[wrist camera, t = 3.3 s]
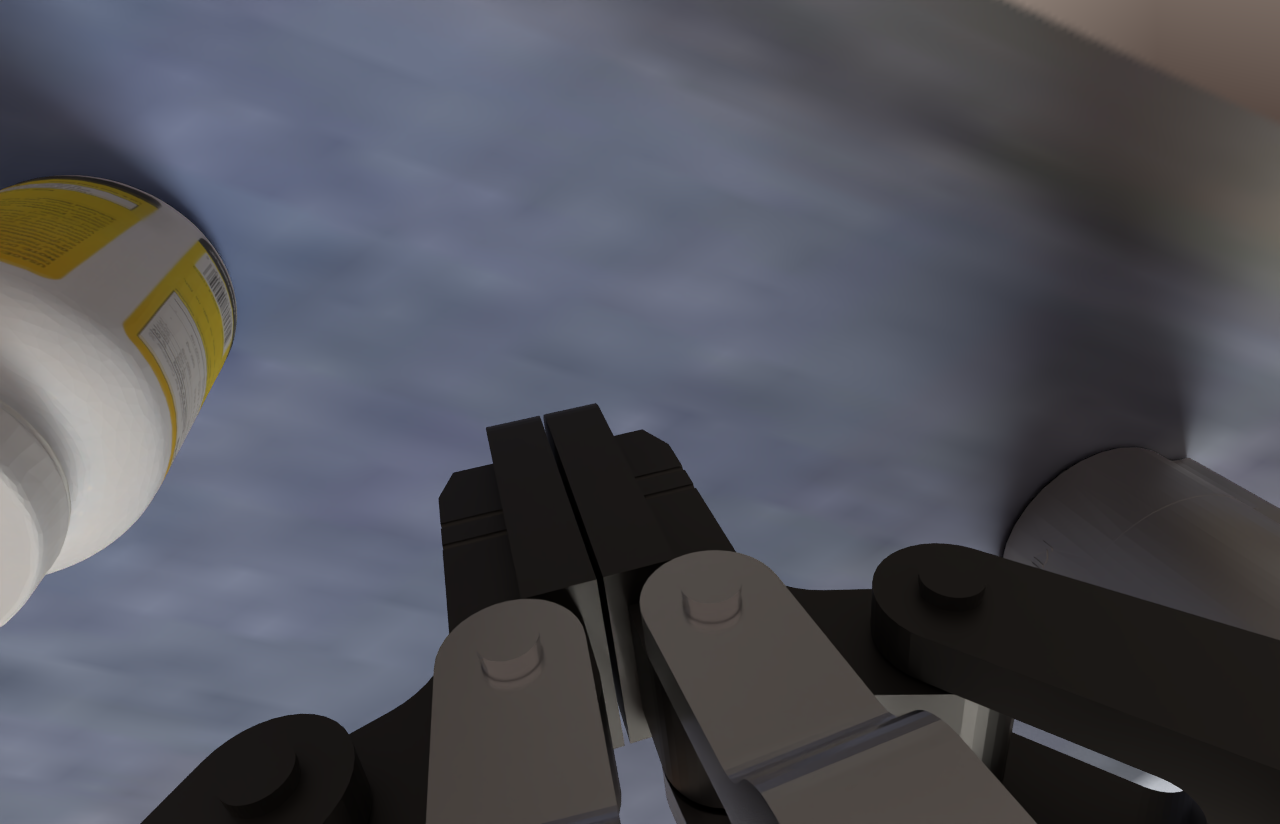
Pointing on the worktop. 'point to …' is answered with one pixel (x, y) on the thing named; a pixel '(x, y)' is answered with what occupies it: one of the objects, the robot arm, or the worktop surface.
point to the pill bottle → (96, 364)
